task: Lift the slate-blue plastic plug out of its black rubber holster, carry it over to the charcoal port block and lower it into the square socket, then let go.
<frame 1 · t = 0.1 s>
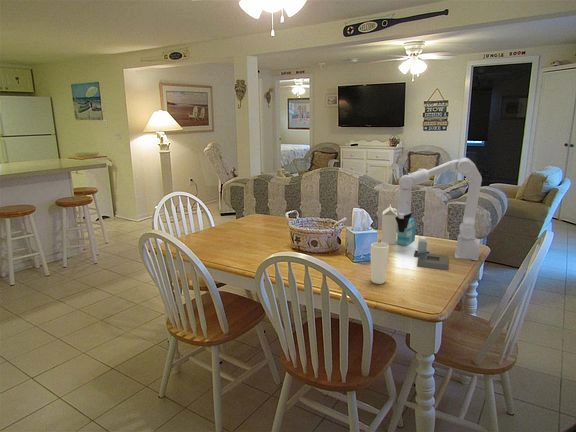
hand: (402, 230, 190), 10 cm above the table, tool pointing down, fingers open, 7 cm apart
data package: (406, 243, 202), on the table
holster: (421, 256, 184), on the table
plug: (421, 255, 184), point 1 cm above the table, touching holster
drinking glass: (378, 282, 157), on the table
port block: (432, 264, 174), on the table
milk carton: (388, 243, 204), on the table
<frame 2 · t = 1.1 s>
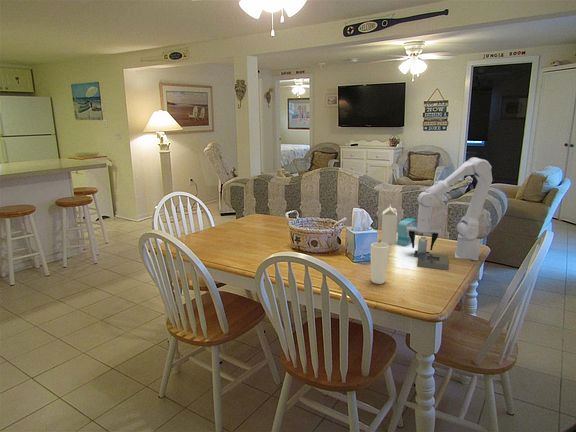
hand: (422, 248, 183), 4 cm above the table, tool pointing down, fingers open, 7 cm apart
nothing on the table moved.
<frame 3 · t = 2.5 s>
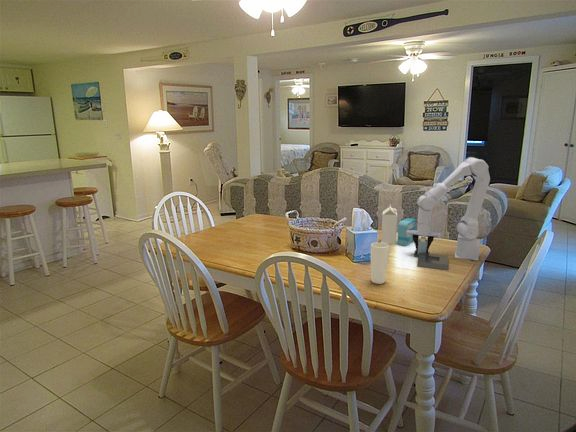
hand: (422, 251, 183), 2 cm above the table, tool pointing down, fingers closed on plug, 4 cm apart
plug: (421, 255, 184), point 1 cm above the table, touching gripper, holster
everything else where it was.
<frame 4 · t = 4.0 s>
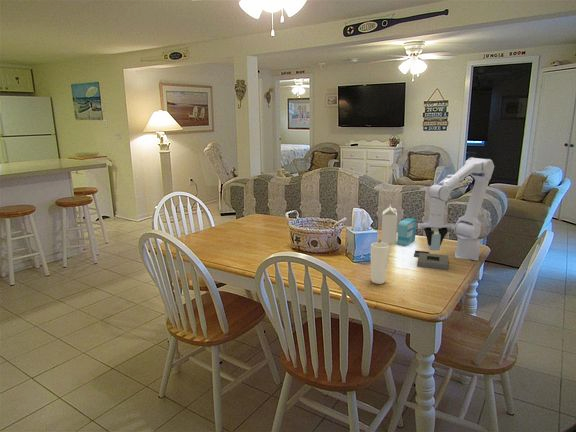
hand: (434, 244, 172), 9 cm above the table, tool pointing down, fingers closed on plug, 4 cm apart
plug: (433, 249, 172), point 7 cm above the table, touching gripper
everything else where it was.
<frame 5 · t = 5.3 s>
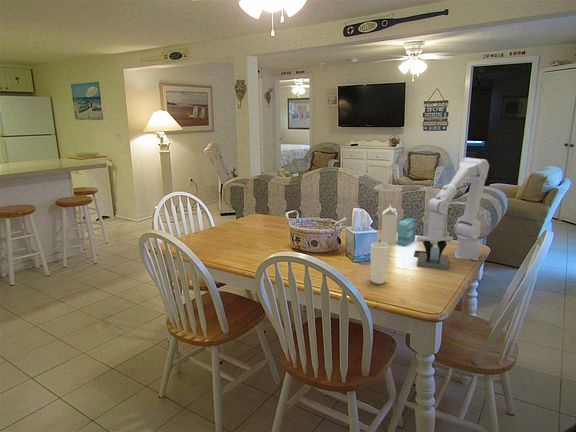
hand: (433, 257, 173), 3 cm above the table, tool pointing down, fingers closed on plug, 4 cm apart
plug: (432, 261, 174), point 1 cm above the table, touching gripper
everything else where it was.
when the fingers open (3 cm above the table, at t = 6.0 s): plug drops 1 cm, resting in port block.
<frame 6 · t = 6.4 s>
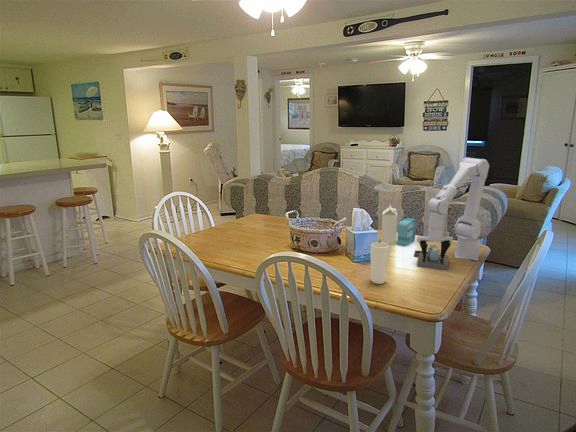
hand: (433, 257, 173), 3 cm above the table, tool pointing down, fingers open, 7 cm apart
plug: (432, 264, 174), resting in port block
everything else where it was.
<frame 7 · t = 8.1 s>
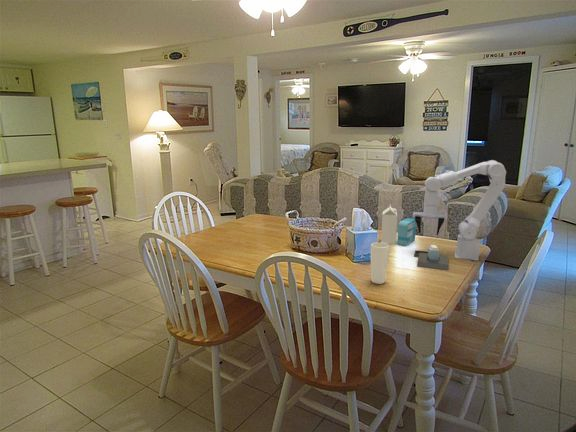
hand: (428, 233, 184), 10 cm above the table, tool pointing down, fingers open, 7 cm apart
nothing on the table moved.
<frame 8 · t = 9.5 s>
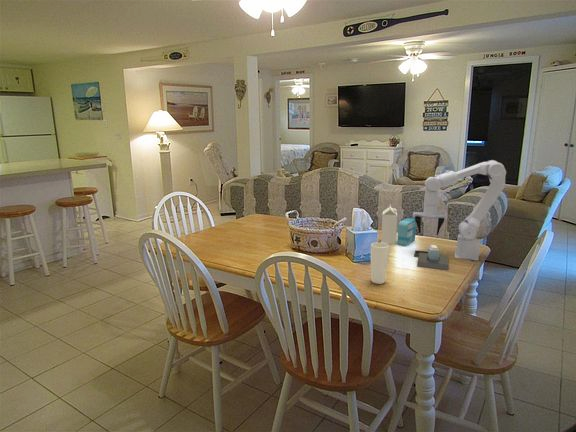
hand: (428, 233, 184), 10 cm above the table, tool pointing down, fingers open, 7 cm apart
nothing on the table moved.
at the end: plug 0.2 cm off-centre on the port block, point 0.0 cm above the port block's base; plug tilted 0°; the gripper is holding nothing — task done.
